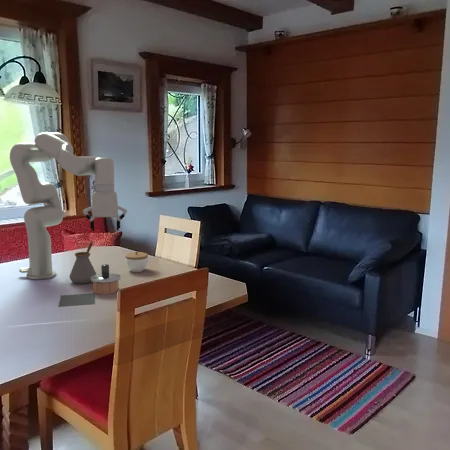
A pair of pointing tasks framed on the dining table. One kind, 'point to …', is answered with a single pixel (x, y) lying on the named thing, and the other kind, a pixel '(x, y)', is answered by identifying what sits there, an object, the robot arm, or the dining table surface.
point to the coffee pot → (82, 268)
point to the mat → (77, 299)
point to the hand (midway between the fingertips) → (105, 230)
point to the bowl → (106, 287)
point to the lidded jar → (136, 261)
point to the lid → (105, 276)
